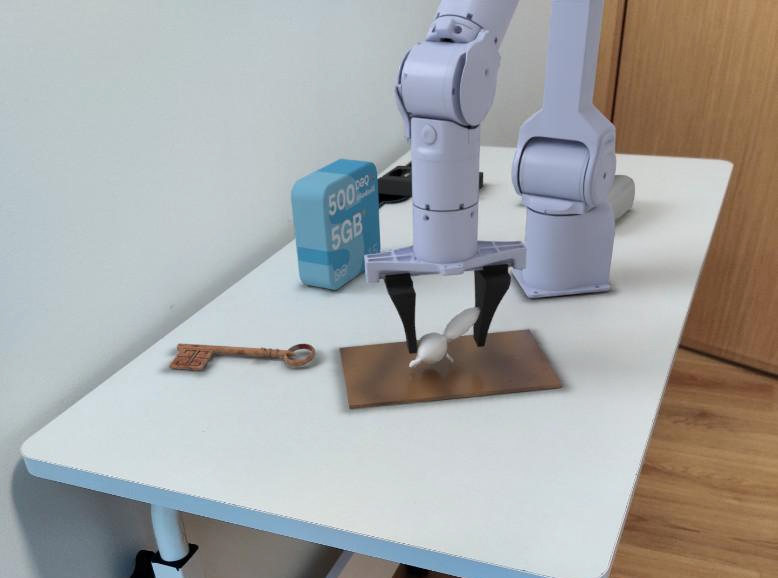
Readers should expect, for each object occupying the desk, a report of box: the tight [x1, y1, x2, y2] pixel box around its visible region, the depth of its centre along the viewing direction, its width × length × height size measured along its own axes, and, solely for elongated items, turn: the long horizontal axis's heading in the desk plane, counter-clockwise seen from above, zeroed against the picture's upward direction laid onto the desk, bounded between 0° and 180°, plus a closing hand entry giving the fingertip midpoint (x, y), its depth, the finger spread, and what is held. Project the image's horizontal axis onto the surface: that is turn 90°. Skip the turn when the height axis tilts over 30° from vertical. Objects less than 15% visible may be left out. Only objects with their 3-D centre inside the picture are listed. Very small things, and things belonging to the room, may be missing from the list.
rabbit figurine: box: [409, 306, 480, 368], centre depth 81 cm, size 6×4×8 cm
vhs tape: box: [377, 165, 484, 197], centre depth 126 cm, size 14×8×2 cm, turn 65°
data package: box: [290, 158, 382, 291], centre depth 99 cm, size 12×4×12 cm, turn 150°
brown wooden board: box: [338, 328, 563, 410], centre depth 82 cm, size 20×12×1 cm, turn 96°
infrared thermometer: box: [604, 174, 636, 221], centre depth 114 cm, size 5×12×15 cm
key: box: [168, 342, 316, 371], centre depth 86 cm, size 6×1×15 cm
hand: (445, 345), depth 81 cm, fingers closed on rabbit figurine, 6 cm apart
